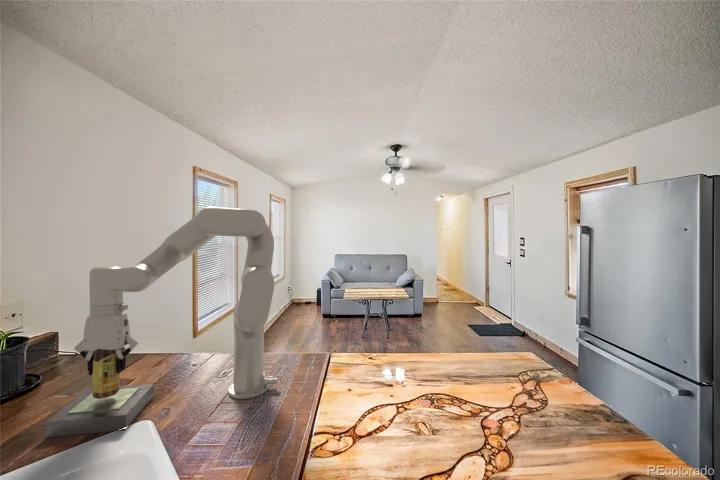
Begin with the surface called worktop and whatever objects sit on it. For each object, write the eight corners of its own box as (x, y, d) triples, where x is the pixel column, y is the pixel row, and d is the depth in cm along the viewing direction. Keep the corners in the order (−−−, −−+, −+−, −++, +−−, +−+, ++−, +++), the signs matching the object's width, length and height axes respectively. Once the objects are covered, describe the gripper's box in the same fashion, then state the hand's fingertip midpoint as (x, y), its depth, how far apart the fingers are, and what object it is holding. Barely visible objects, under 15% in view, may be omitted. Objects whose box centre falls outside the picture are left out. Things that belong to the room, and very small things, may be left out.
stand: (153, 396, 104) (153, 382, 104) (126, 429, 86) (126, 413, 86) (88, 401, 100) (88, 387, 100) (45, 437, 82) (45, 420, 82)
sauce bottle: (104, 401, 89) (104, 329, 89) (86, 398, 90) (85, 328, 90) (126, 390, 96) (125, 323, 95) (108, 387, 97) (108, 321, 96)
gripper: (146, 305, 98) (146, 364, 98) (79, 307, 94) (80, 369, 95) (134, 311, 91) (134, 375, 91) (62, 314, 87) (62, 380, 87)
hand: (107, 371), depth 93 cm, fingers closed on sauce bottle, 6 cm apart
